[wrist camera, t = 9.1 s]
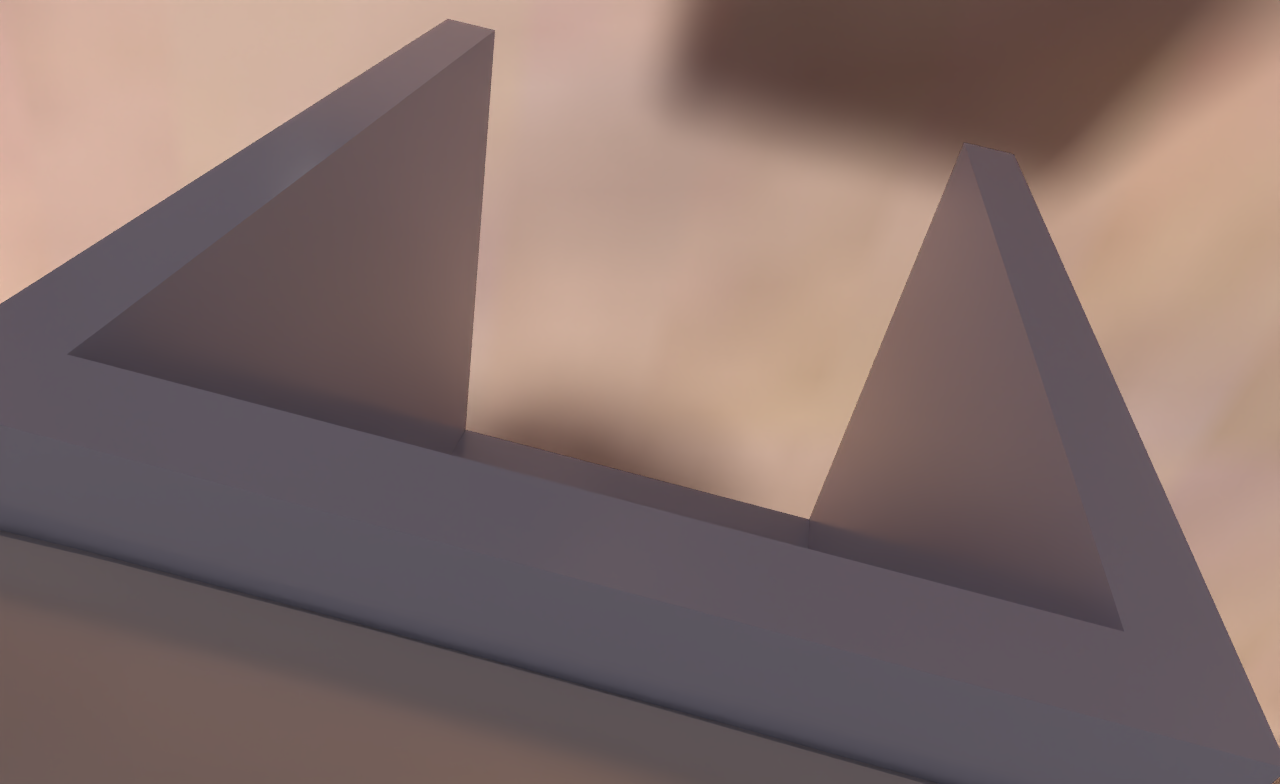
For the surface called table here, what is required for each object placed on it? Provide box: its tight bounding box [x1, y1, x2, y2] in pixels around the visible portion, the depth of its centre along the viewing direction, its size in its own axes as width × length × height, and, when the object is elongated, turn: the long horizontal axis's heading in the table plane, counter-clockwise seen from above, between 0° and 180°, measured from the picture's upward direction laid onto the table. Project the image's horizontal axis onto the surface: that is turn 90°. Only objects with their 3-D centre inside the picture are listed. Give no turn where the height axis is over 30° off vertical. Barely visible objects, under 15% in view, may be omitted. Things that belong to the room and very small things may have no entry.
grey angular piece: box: [0, 19, 1280, 784], centre depth 9 cm, size 7×7×8 cm
